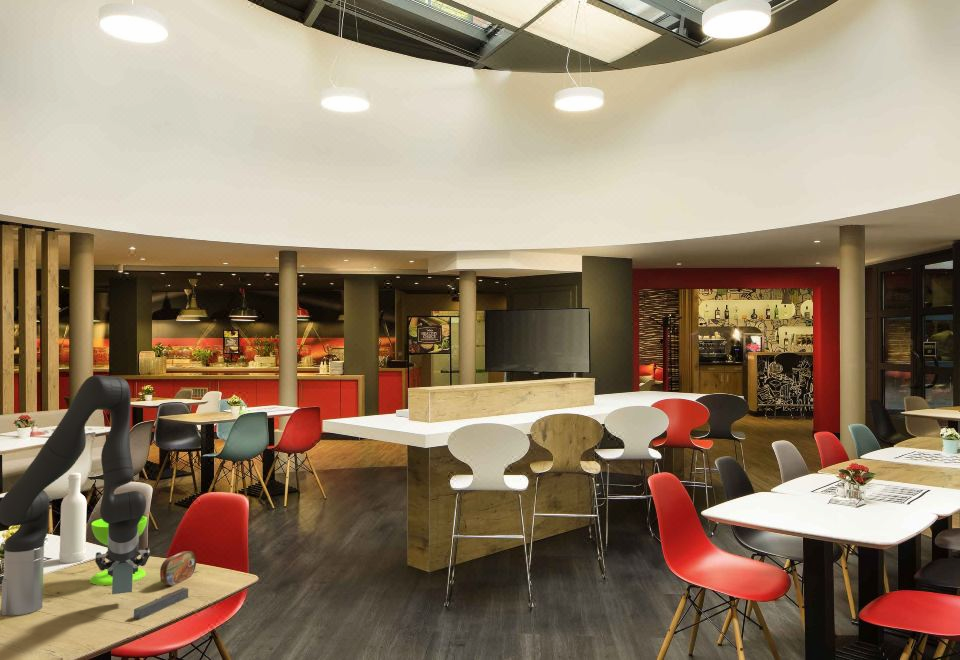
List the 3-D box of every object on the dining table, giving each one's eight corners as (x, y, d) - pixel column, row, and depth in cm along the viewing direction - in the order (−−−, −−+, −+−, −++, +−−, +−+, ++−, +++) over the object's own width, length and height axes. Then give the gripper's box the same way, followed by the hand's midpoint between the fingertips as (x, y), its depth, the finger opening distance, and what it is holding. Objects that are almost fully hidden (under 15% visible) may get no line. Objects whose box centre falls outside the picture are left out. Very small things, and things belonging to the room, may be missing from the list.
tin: (166, 589, 206) (167, 561, 207) (157, 588, 207) (158, 560, 207) (196, 574, 221) (197, 547, 221) (188, 573, 222) (188, 547, 222)
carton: (111, 594, 191) (113, 558, 191) (112, 589, 195) (114, 554, 195) (132, 591, 193) (133, 556, 193) (132, 587, 197) (133, 552, 197)
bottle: (83, 555, 241) (85, 470, 242) (87, 560, 235) (89, 473, 236) (57, 559, 236) (59, 473, 237) (60, 565, 230) (63, 476, 231)
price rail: (139, 619, 182) (139, 610, 182) (131, 618, 183) (132, 608, 183) (188, 597, 199) (188, 588, 199) (180, 596, 200) (181, 587, 200)
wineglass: (107, 589, 206) (109, 529, 207) (79, 580, 214) (80, 522, 215) (156, 574, 220) (157, 519, 220) (128, 566, 228) (129, 513, 229)
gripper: (152, 526, 191) (150, 557, 201) (94, 531, 185) (95, 563, 195) (151, 550, 186) (150, 581, 196) (92, 556, 180) (93, 587, 190)
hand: (123, 572), depth 196 cm, fingers closed on carton, 5 cm apart
